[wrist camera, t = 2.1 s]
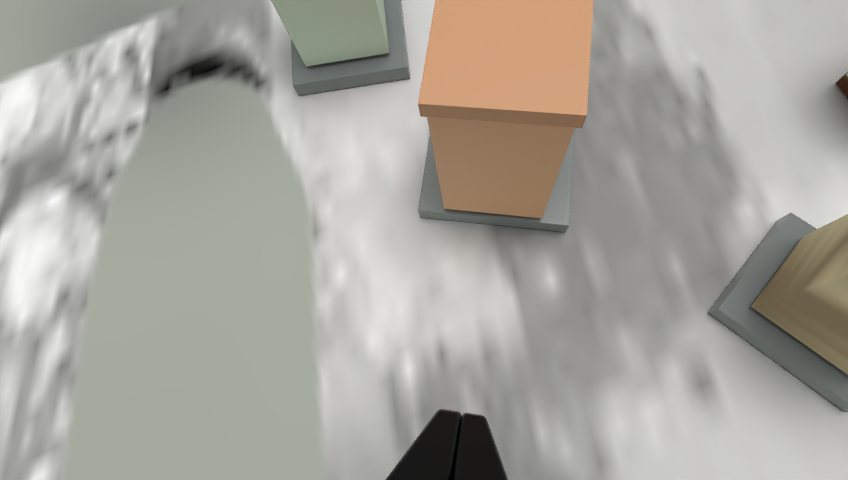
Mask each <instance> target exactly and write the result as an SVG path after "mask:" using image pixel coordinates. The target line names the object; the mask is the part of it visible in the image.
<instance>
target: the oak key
mask: <svg viewBox="0 0 848 480" xmlns="http://www.w3.org/2000/svg"><path fill="white" fill-rule="evenodd" d="M751 307H752V308H754V309H755V310H757V311H758V312H759V313H761V314H762V315H764V316H765V317H766V318H768V319H769V320H771V321H772V322H774V323H775V324H776V325H778V326H779V327H781V328H782V329H783V330H785V331H786V332H788V333H789V334H791V335H792V336H793V337H795V338H796V339H798V340H799V341H800V342H802V343H803V344H805V345H806V346H808V347H809V348H810V349H812V350H813V351H815V352H816V353H817V354H819V355H820V356H822V357H823V358H824V359H826V360H827V361H829V362H830V363H832V364H833V365H834V366H836V367H837V368H839V369H840V370H841V371H843V372H844V373H846V374H847V375H848V215H846V216H844V217H842V218H839V219H837V220H835V221H833V222H831V223H829V224H827V225H825V226H823V227H821V228H819V229H817V230H815V231H813V232H811V233H808V234H806V235H804V236H803V237H802V239H801V240H800V241H799V243H798V244H797V245H796V247H795V248H794V249H793V251H792V252H791V254H790V255H789V256H788V258H787V259H786V260H785V262H784V263H783V264H782V266H781V267H780V268H779V270H778V271H777V272H776V274H775V275H774V276H773V278H772V279H771V280H770V282H769V283H768V284H767V286H766V287H765V288H764V290H763V291H762V292H761V294H760V295H759V297H758V298H757V299H756V301H755V302H754V303H753V305H752V306H751Z"/></svg>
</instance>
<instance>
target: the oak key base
mask: <svg viewBox="0 0 848 480" xmlns="http://www.w3.org/2000/svg"><path fill="white" fill-rule="evenodd" d="M815 230H817V229H816V228H814V227H813V226H811V225H810V224H808V223H806V222H805V221H803V220H802V219H800V218H799V217H797V216H795V215H794V214H792V213H790V214H788V215H786V216H784V217H783V218H781V219H779V220H778V221H777V222H776V223H775V225H774V226H773V227H772V229H771V230H770V231H769V233H768V234H767V235H766V237H765V238H764V239H763V241H762V242H761V243H760V245H759V246H758V247H757V248H756V250H755V251H754V252H753V254H752V255H751V256H750V258H749V259H748V260H747V262H746V263H745V264H744V266H743V267H742V268H741V270H740V271H739V272H738V273H737V275H736V276H735V277H734V279H733V280H732V281H731V283H730V284H729V285H728V287H727V288H726V289H725V291H724V292H723V293H722V295H721V296H720V297H719V298H718V300H717V301H716V302H715V304H714V305H713V306H712V308H711V309H710V310H709V312H708V313H709V314H710V315H712V316H713V317H714V318H716V319H717V320H719V321H720V322H721V323H723V324H724V325H725V326H727V327H728V328H730V329H731V330H732V331H734V332H735V333H736V334H738V335H739V336H741V337H742V338H743V339H745V340H746V341H747V342H749V343H750V344H751V345H753V346H754V347H756V348H757V349H758V350H760V351H761V352H762V353H764V354H765V355H767V356H768V357H769V358H771V359H772V360H773V361H775V362H776V363H778V364H779V365H780V366H782V367H783V368H784V369H786V370H787V371H789V372H790V373H791V374H793V375H794V376H795V377H797V378H798V379H800V380H801V381H802V382H804V383H805V384H806V385H808V386H809V387H810V388H812V389H813V390H815V391H816V392H817V393H819V394H820V395H821V396H823V397H824V398H826V399H827V400H828V401H830V402H831V403H832V404H834V405H835V406H837V407H838V408H839V409H841V410H842V411H843V412H848V375H847V374H846V373H844V372H843V371H841V370H840V369H839V368H837V367H836V366H834V365H833V364H832V363H830V362H829V361H827V360H826V359H824V358H823V357H822V356H820V355H819V354H817V353H816V352H815V351H813V350H812V349H810V348H809V347H808V346H806V345H805V344H803V343H802V342H800V341H799V340H798V339H796V338H795V337H793V336H792V335H791V334H789V333H788V332H786V331H785V330H783V329H782V328H781V327H779V326H778V325H776V324H775V323H774V322H772V321H771V320H769V319H768V318H766V317H765V316H764V315H762V314H761V313H759V312H758V311H757V310H755V309H754V308H752V307H751V306H752V305H753V303H754V302H755V301H756V299H757V298H758V297H759V295H760V294H761V292H762V291H763V290H764V288H765V287H766V286H767V284H768V283H769V282H770V280H771V279H772V278H773V276H774V275H775V274H776V272H777V271H778V270H779V268H780V267H781V266H782V264H783V263H784V262H785V260H786V259H787V258H788V256H789V255H790V254H791V252H792V251H793V249H794V248H795V247H796V245H797V244H798V243H799V241H800V240H801V239H802V237H803V236H804V235H806V234H808V233H811V232H813V231H815Z"/></svg>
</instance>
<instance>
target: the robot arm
mask: <svg viewBox="0 0 848 480" xmlns="http://www.w3.org/2000/svg"><path fill="white" fill-rule="evenodd" d="M386 480H508V478H507V475H506V472H505V470H504V467H503V464H502V461H501V458H500V456H499V453H498V450H497V447H496V444H495V442H494V439H493V436H492V433H491V430H490V428H489V425H488V422H487V420H486V418H485V417H484V416H482V415H477V414H471V413H464V414H463V415H462V417H461V413H460V412H458V411H452V410H445V409H440V410H438V411H437V412H436V413H435V415H434V416H433V417H432V419H431V420H430V421H429V423H428V424H427V425H426V427H425V428H424V429H423V431H422V432H421V433H420V435H419V436H418V437H417V439H416V440H415V441H414V443H413V444H412V445H411V447H410V448H409V449H408V451H407V452H406V453H405V455H404V456H403V457H402V459H401V460H400V461H399V463H398V464H397V465H396V467H395V468H394V469H393V471H392V472H391V473H390V475H389V476H388V477H387V479H386Z"/></svg>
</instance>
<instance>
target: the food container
mask: <svg viewBox="0 0 848 480" xmlns="http://www.w3.org/2000/svg"><path fill="white" fill-rule="evenodd" d="M836 84H837V86H838V87H839V88H840V90H841V91H842V92H843V94H844V95H845V96H846V97H847V99H848V72H847V73H846V74H845V75H844V76H843V77H842V78H841V79H839V80H838V81H837V82H836Z"/></svg>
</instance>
